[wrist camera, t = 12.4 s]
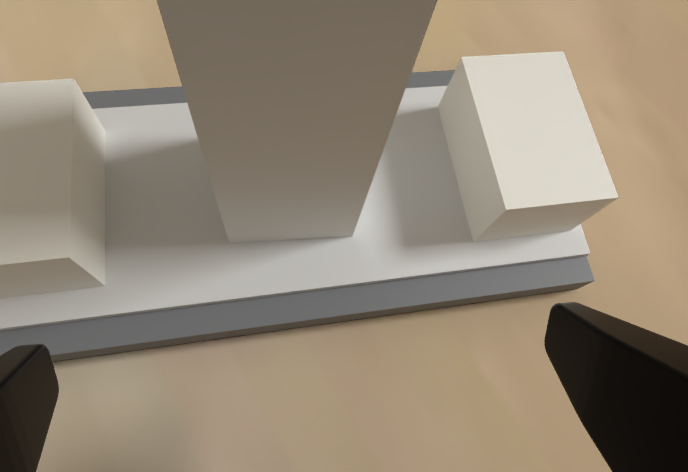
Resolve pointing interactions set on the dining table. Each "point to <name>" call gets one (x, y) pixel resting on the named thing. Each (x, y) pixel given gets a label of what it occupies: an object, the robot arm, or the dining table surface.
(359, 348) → the dining table surface
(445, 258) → the rail board
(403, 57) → the block
